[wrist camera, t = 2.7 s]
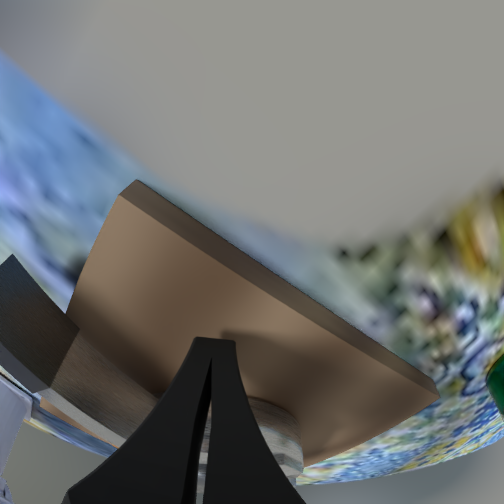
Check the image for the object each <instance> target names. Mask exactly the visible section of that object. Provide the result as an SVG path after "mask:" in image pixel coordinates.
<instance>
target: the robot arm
mask: <svg viewBox="0 0 504 504" xmlns="http://www.w3.org/2000/svg"><path fill="white" fill-rule="evenodd" d="M210 402H211V429H210V438H209V448H208V457H207V467H206V476H205V486H204V495H203V504H306V503H305V502H304V500H303V499H302V498H301V496H300V495H299V494H298V493H297V491H296V490H295V488H294V487H293V486H292V484H291V483H290V481H289V480H288V478H287V477H286V475H285V474H284V472H283V470H282V469H281V467H280V466H279V464H278V463H277V461H276V459H275V457H274V456H273V454H272V452H271V450H270V448H269V447H268V445H267V443H266V441H265V439H264V437H263V435H262V433H261V430H260V428H259V426H258V424H257V421H256V419H255V417H254V414H253V412H252V409H251V406H250V404H249V401H248V398H247V395H246V392H245V389H244V385H243V382H242V378H241V374H240V370H239V366H238V360H237V353H236V342H235V341H233V340H227V339H217V338H207V337H198V336H197V337H195V338H194V339H193V341H192V344H191V346H190V349H189V351H188V353H187V355H186V357H185V359H184V361H183V363H182V365H181V366H180V368H179V370H178V372H177V373H176V375H175V377H174V378H173V380H172V382H171V383H170V385H169V386H168V388H167V390H166V391H165V392H164V394H163V395H162V397H161V398H160V400H159V401H158V402H157V404H156V405H155V407H154V408H153V409H152V411H151V412H150V413H149V415H148V416H147V417H146V418H145V420H144V421H143V422H142V423H141V424H140V426H139V427H138V428H137V429H136V430H135V431H134V432H133V434H132V435H131V436H130V437H129V438H128V439H127V440H126V441H125V442H124V443H123V444H122V445H121V446H120V447H119V448H118V449H117V450H116V451H115V452H114V453H113V454H112V455H111V456H110V457H109V458H107V459H106V460H105V461H104V462H103V463H102V464H101V465H100V466H98V467H97V468H96V469H95V470H94V471H92V472H91V473H90V474H89V475H87V476H86V477H85V478H83V479H82V480H80V481H79V482H78V483H76V484H75V485H73V486H72V487H71V488H69V489H68V491H67V492H66V494H65V496H64V499H63V501H62V503H61V504H196V496H197V495H196V494H197V482H198V470H199V459H200V453H201V447H202V442H203V437H204V432H205V427H206V422H207V417H208V412H209V407H210ZM32 403H33V399H32V398H31V397H30V396H29V395H27V394H26V393H24V392H23V391H21V390H20V389H19V388H17V387H16V386H14V385H13V384H12V383H10V382H9V381H8V380H6V379H5V378H4V377H2V376H1V375H0V475H2V474H3V471H4V468H5V465H6V462H7V460H8V457H9V454H10V451H11V449H12V446H13V443H14V441H15V438H16V436H17V433H18V431H19V428H20V426H21V424H22V421H23V419H26V420H28V421H30V419H31V411H32ZM0 504H14V503H13V501H12V496H11V493H10V491H9V488H8V486H7V484H6V480H5V479H3V478H1V477H0Z"/></svg>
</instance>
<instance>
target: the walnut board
mask: <svg viewBox="0 0 504 504" xmlns="http://www.w3.org/2000/svg"><path fill="white" fill-rule="evenodd" d="M66 315H67V316H68V317H69V318H70V319H71V320H72V321H73V322H74V323H75V324H76V325H77V326H78V327H79V328H80V330H79V332H78V334H79V335H80V336H82V337H83V338H84V339H85V340H86V341H87V342H88V343H89V344H90V345H91V346H92V347H94V348H95V349H96V350H97V351H98V352H99V353H100V354H101V355H103V356H104V357H105V358H106V359H107V360H108V361H110V362H111V363H112V364H113V365H114V366H116V367H117V368H118V369H119V370H120V371H122V372H123V373H124V374H125V375H127V376H128V377H129V378H131V379H132V380H133V381H134V382H136V383H137V384H138V385H140V386H141V387H142V388H144V389H145V390H146V391H148V392H149V393H150V394H156V393H161V392H165V391H166V390H167V388H168V386H169V385H170V383H171V382H172V380H173V378H174V377H175V375H176V373H177V372H178V370H179V368H180V366H181V365H182V363H183V361H184V359H185V357H186V355H187V353H188V351H189V349H190V346H191V344H192V341H193V339H194V338H195V337H197V336H198V337H207V338H217V339H227V340H233V341H235V342H236V353H237V360H238V366H239V370H240V374H241V378H242V382H243V385H244V389H245V392H246V395H247V398H251V399H256V400H259V401H262V402H266V403H268V404H271V405H274V406H276V407H278V408H280V409H282V410H284V411H286V412H287V413H289V414H290V415H292V416H293V417H294V418H295V419H296V420H297V422H298V423H299V426H300V431H301V442H302V452H303V463H304V468H305V467H307V466H310V465H313V464H315V463H318V462H320V461H323V460H325V459H328V458H330V457H333V456H335V455H337V454H340V453H342V452H344V451H346V450H349V449H351V448H353V447H355V446H357V445H359V444H361V443H364V442H366V441H368V440H370V439H372V438H373V437H375V436H377V435H379V434H381V433H383V432H385V431H387V430H389V429H390V428H392V427H394V426H396V425H398V424H399V423H401V422H403V421H404V420H406V419H408V418H409V417H411V416H413V415H414V414H416V413H418V412H419V411H421V410H422V409H424V408H425V407H427V406H429V405H430V404H432V403H433V402H435V401H436V400H437V399H439V398H440V395H439V393H438V391H437V388H436V386H435V384H434V381H433V380H432V379H431V378H429V377H428V376H426V375H425V374H423V373H422V372H420V371H419V370H417V369H416V368H414V367H413V366H411V365H410V364H408V363H407V362H405V361H404V360H402V359H401V358H399V357H398V356H396V355H395V354H393V353H392V352H390V351H389V350H387V349H386V348H384V347H383V346H381V345H380V344H378V343H377V342H375V341H374V340H372V339H371V338H369V337H368V336H366V335H365V334H363V333H362V332H360V331H359V330H357V329H356V328H354V327H353V326H351V325H350V324H348V323H347V322H345V321H344V320H342V319H341V318H339V317H338V316H336V315H335V314H334V313H332V312H331V311H329V310H328V309H326V308H325V307H323V306H322V305H320V304H319V303H317V302H316V301H314V300H313V299H311V298H310V297H308V296H307V295H305V294H304V293H302V292H301V291H299V290H298V289H296V288H295V287H293V286H292V285H291V284H289V283H288V282H286V281H285V280H283V279H282V278H280V277H279V276H277V275H276V274H274V273H273V272H271V271H270V270H268V269H267V268H265V267H264V266H263V265H261V264H260V263H258V262H257V261H255V260H254V259H252V258H251V257H249V256H248V255H246V254H245V253H243V252H242V251H240V250H239V249H238V248H236V247H235V246H233V245H232V244H230V243H229V242H227V241H226V240H224V239H223V238H221V237H220V236H218V235H217V234H216V233H214V232H213V231H211V230H210V229H208V228H207V227H205V226H204V225H202V224H201V223H199V222H198V221H196V220H195V219H194V218H192V217H191V216H189V215H188V214H186V213H185V212H183V211H182V210H180V209H179V208H177V207H176V206H175V205H173V204H172V203H170V202H169V201H167V200H166V199H164V198H163V197H161V196H160V195H159V194H157V193H156V192H154V191H153V190H151V189H150V188H148V187H147V186H145V185H144V184H143V183H141V182H140V181H138V180H137V179H136V180H135V181H134V182H132V183H131V184H130V185H129V186H128V187H127V188H125V189H124V190H123V191H122V192H121V193H120V194H119V195H118V197H117V198H116V200H115V202H114V204H113V206H112V208H111V210H110V212H109V214H108V216H107V218H106V220H105V222H104V224H103V226H102V228H101V230H100V232H99V234H98V236H97V238H96V240H95V243H94V245H93V247H92V249H91V251H90V254H89V256H88V258H87V260H86V263H85V265H84V267H83V270H82V272H81V275H80V277H79V279H78V282H77V284H76V287H75V289H74V292H73V295H72V297H71V300H70V303H69V305H68V308H67V311H66ZM40 407H41V408H43V409H45V410H46V411H48V412H49V413H51V414H53V415H55V416H56V417H58V418H60V419H61V420H63V421H65V422H67V423H69V424H70V425H72V426H74V427H76V428H78V429H80V430H82V431H84V432H86V433H88V434H90V435H92V436H94V437H96V438H98V439H100V440H102V441H104V442H107V443H109V444H111V443H110V442H108V441H106V440H105V439H103V438H101V437H100V436H98V435H96V434H95V433H93V432H91V431H90V430H88V429H87V428H85V427H84V426H82V425H81V424H79V423H78V422H76V421H75V420H73V419H72V418H70V417H69V416H67V415H66V414H65V413H63V412H62V411H60V410H59V409H58V408H56V407H55V406H54V405H52V404H51V403H50V402H48V401H47V400H46V399H45V398H43V397H41V402H40ZM111 445H112V446H114V447H116V448H119V447H117V446H115V445H113V444H111Z"/></svg>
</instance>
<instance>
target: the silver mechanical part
mask: <svg viewBox="0 0 504 504" xmlns="http://www.w3.org/2000/svg"><path fill="white" fill-rule="evenodd" d="M79 330H80V328H79V327H78V326H77V325H76V324H75V323H74V322H73V321H72V320H71V319H70V318H69V317H68V316H67V315H66V314H65V313H64V312H63V311H62V310H61V309H60V308H59V307H58V306H57V305H56V304H55V303H54V302H53V301H52V300H51V299H50V297H49V296H48V295H47V294H46V293H45V292H44V291H43V290H42V289H41V287H40V286H39V285H38V284H37V283H36V282H35V280H34V279H33V278H32V277H31V276H30V275H29V273H28V272H27V271H26V270H25V269H24V267H23V266H22V265H21V264H20V262H19V261H18V260H17V259H16V257H15V256H14V255H13V254H12V255H11V256H9V257H8V258H7V259H6V260H5V261H4V262H3V263H2V264H1V265H0V365H1V366H2V367H3V368H4V369H5V370H6V371H7V372H8V373H10V374H11V375H12V376H13V377H14V378H15V379H16V380H17V381H18V382H20V383H21V384H22V385H23V386H24V387H25V388H27V389H28V390H29V391H30V392H31V393H36V392H37V393H38V394H40V395H41V396H42V397H43V398H45V399H46V400H47V401H48V402H50V403H51V404H52V405H54V406H55V407H56V408H58V409H59V410H60V411H62V412H63V413H65V414H66V415H67V416H69V417H70V418H72V419H73V420H75V421H76V422H78V423H79V424H81V425H82V426H84V427H85V428H87V429H88V430H90V431H91V432H93V433H95V434H96V435H98V436H100V437H101V438H103V439H105V440H106V441H108V442H110V443H111V444H113V445H115V446H117V447H120V446H121V445H122V444H123V443H124V442H125V441H126V440H127V439H128V438H129V437H130V436H131V435H132V434H133V432H134V431H135V430H136V429H137V428H138V427H139V426H140V424H141V423H142V422H143V421H144V420H145V418H146V417H147V416H148V415H149V413H150V412H151V411H152V409H153V408H154V407H155V405H156V404H157V402H158V401H159V400H160V398H161V397H162V395H163V394H164V392H161V393H156V394H150V393H149V392H148V391H146V390H145V389H144V388H142V387H141V386H140V385H138V384H137V383H136V382H134V381H133V380H132V379H131V378H129V377H128V376H127V375H125V374H124V373H123V372H122V371H120V370H119V369H118V368H117V367H116V366H114V365H113V364H112V363H111V362H110V361H108V360H107V359H106V358H105V357H104V356H103V355H101V354H100V353H99V352H98V351H97V350H96V349H95V348H94V347H92V346H91V345H90V344H89V343H88V342H87V341H86V340H85V339H84V338H83V337H82V336H80V335H79V334H78V332H79ZM248 401H249V404H250V406H251V409H252V412H253V414H254V417H255V419H256V421H257V424H258V426H259V428H260V430H261V433H262V435H263V437H264V439H265V441H266V443H267V445H268V447H269V448H270V450H271V452H272V454H273V456H274V457H275V459H276V461H277V463H278V464H279V466H280V467H281V469H282V470H283V472H284V474H285V475H286V477H287V478H288V480H289V481H290V483H291V484H292V486H293V487H296V477H298V476H299V475H300V474H301V473H303V469H304V463H303V452H302V442H301V431H300V426H299V423H298V422H297V420H296V419H295V418H294V417H293V416H292V415H290V414H289V413H287V412H286V411H284V410H282V409H280V408H278V407H276V406H274V405H271V404H268V403H266V402H262V401H259V400H256V399H251V398H248ZM210 429H211V402H210V407H209V412H208V417H207V422H206V427H205V432H204V437H203V442H202V447H201V453H200V459H199V470H198V482H197V493H203V494H204V486H205V476H206V467H207V457H208V448H209V438H210Z"/></svg>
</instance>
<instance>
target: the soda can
mask: <svg viewBox="0 0 504 504" xmlns="http://www.w3.org/2000/svg"><path fill="white" fill-rule="evenodd" d="M486 386H487V388H488V390H489V392H490V394H491V396H492V398H493V400H494V402H495V404H496V406H497V408H498V411H499V413H500V415H501V417H502V419H503V422H504V354H503V355H502V356H501V357H500V358H499V359H498V360H497V362H496V363H495V364H494V365H493V367H492V368H491V370H490V371H489V373H488V377H487V382H486Z"/></svg>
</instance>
